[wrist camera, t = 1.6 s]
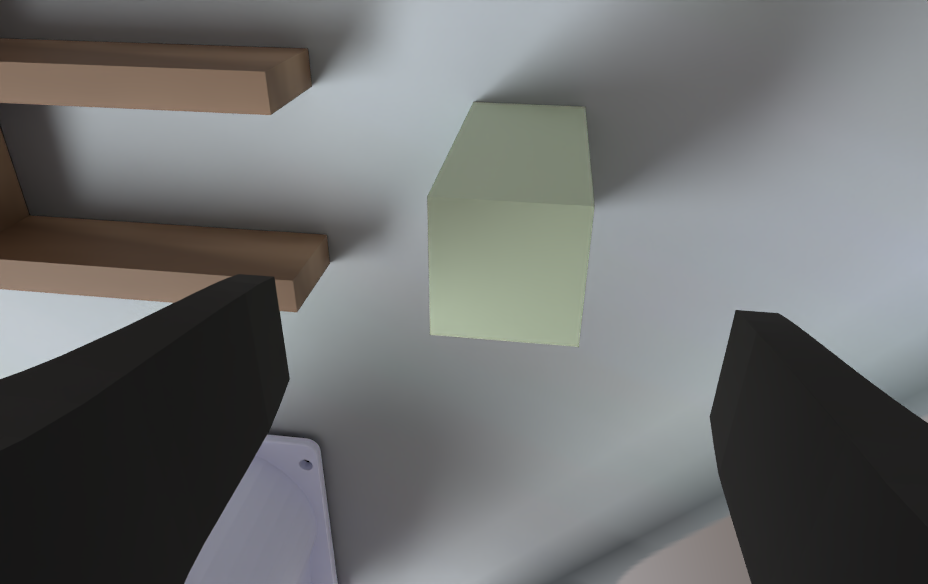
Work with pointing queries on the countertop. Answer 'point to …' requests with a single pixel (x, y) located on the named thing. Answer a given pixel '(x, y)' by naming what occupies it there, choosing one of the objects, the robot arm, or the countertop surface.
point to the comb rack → (147, 244)
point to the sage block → (512, 226)
